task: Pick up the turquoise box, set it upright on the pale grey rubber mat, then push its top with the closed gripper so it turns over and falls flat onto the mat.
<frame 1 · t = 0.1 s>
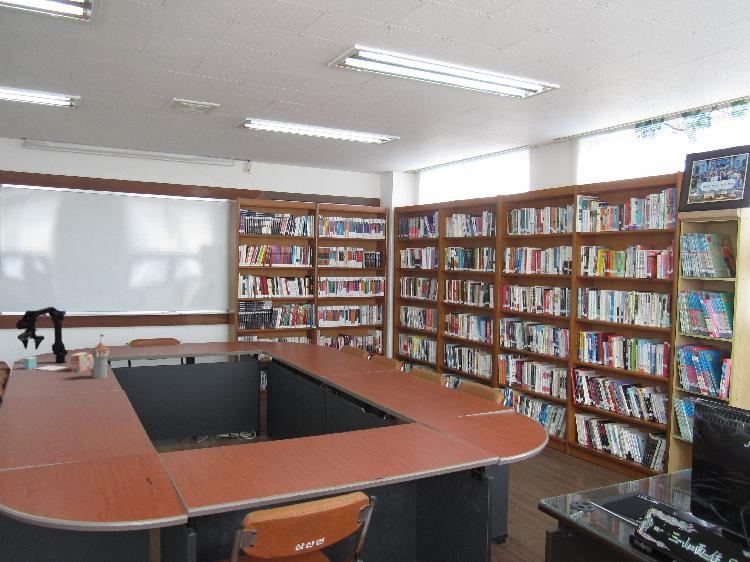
hand: (31, 349, 433), 14 cm above the table, fingers open, 9 cm apart
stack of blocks: (82, 369, 437), on the table
model building: (99, 377, 410), on the table
turquoise box: (30, 368, 435), on the table
mat: (50, 368, 437), on the table
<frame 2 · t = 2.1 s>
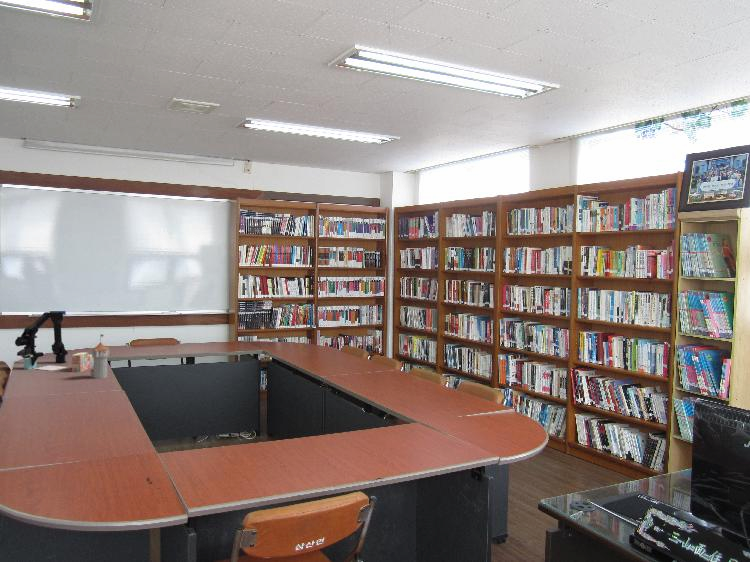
hand: (30, 365, 435), 2 cm above the table, fingers closed on turquoise box, 4 cm apart
turquoise box: (30, 368, 435), on the table, touching gripper
everything else where it was.
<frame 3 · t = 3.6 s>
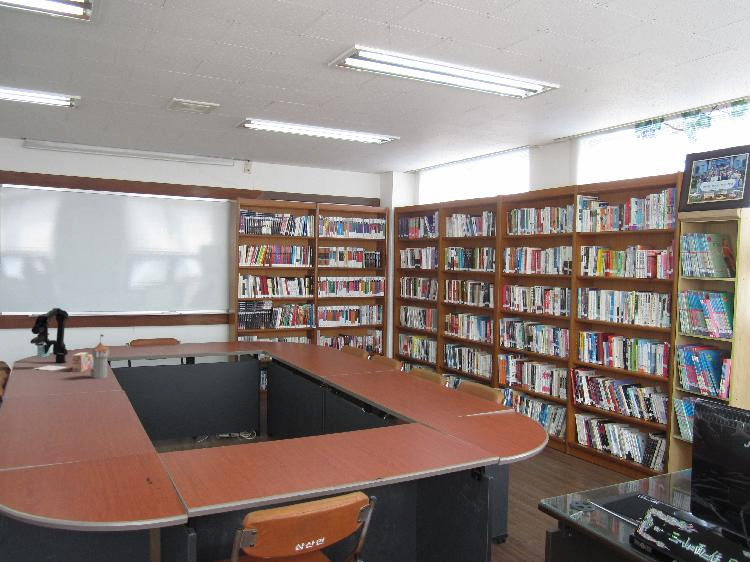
hand: (43, 353, 437), 11 cm above the table, fingers closed on turquoise box, 4 cm apart
turquoise box: (43, 356, 437), point 9 cm above the table, touching gripper
everything else where it was.
when the fingers open (4 cm above the table, at t = 5.3 s): turquoise box drops 1 cm, resting on mat.
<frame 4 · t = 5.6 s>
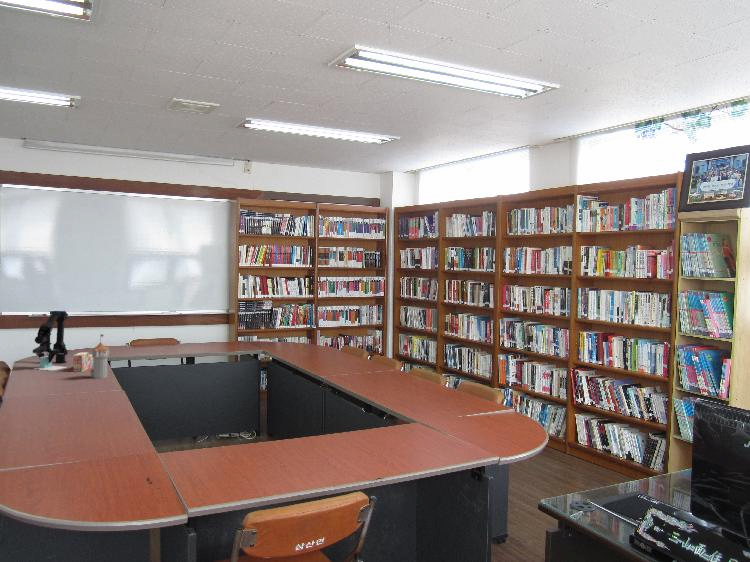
hand: (45, 363, 438), 4 cm above the table, fingers open, 7 cm apart
turquoise box: (45, 367, 438), point 1 cm above the table, touching mat
everything else where it was.
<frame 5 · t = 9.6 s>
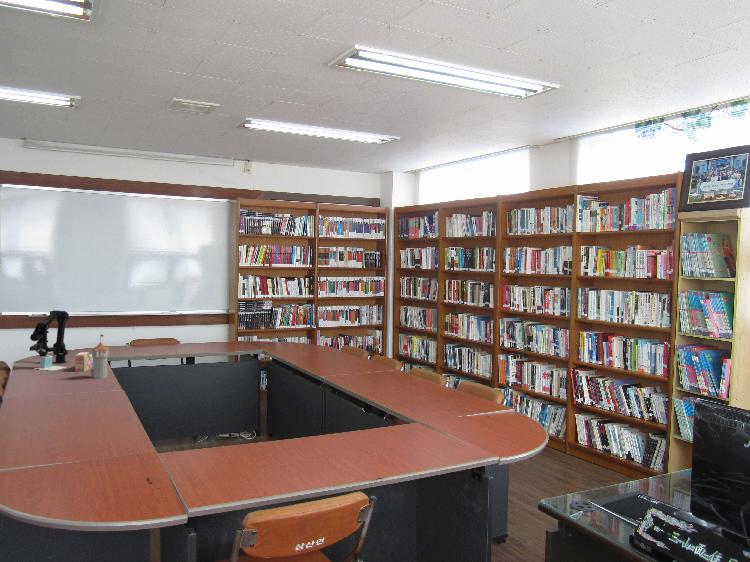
hand: (42, 360, 438), 5 cm above the table, fingers closed
turquoise box: (45, 367, 438), point 1 cm above the table, tilted 7°, touching gripper, mat
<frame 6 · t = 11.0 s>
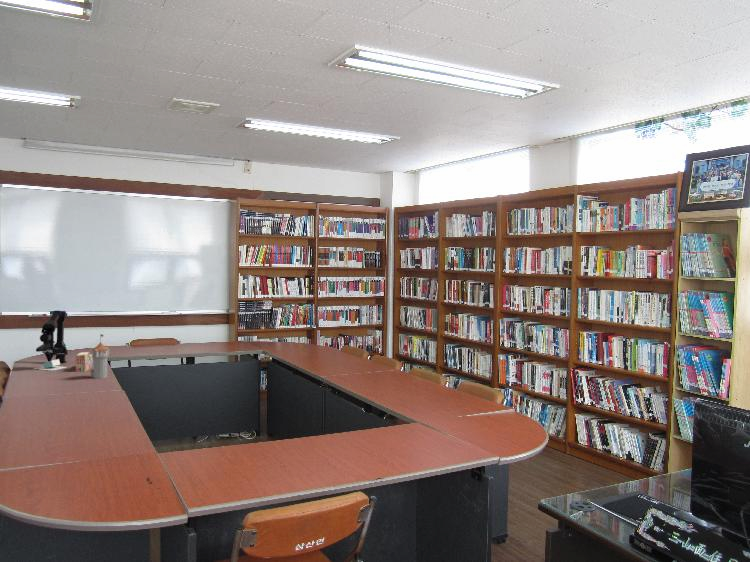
hand: (49, 361, 437), 5 cm above the table, fingers closed
turquoise box: (47, 364, 437), point 2 cm above the table, tilted 73°, touching gripper, mat
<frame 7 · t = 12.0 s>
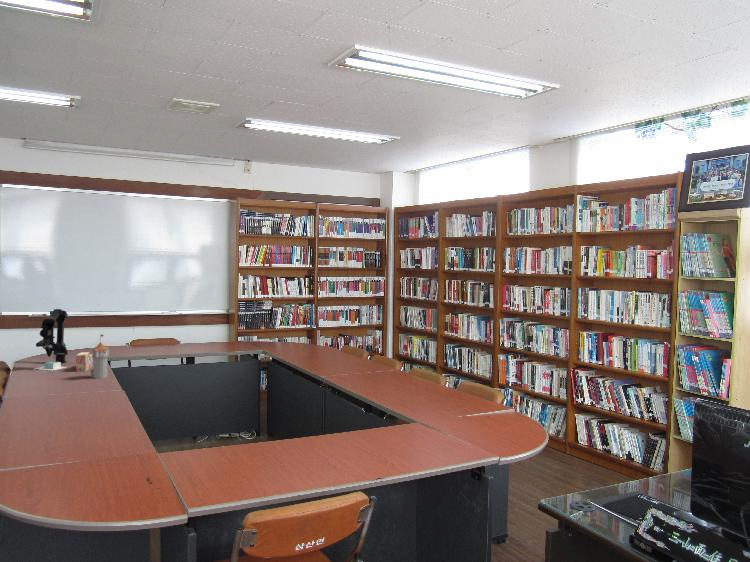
hand: (49, 356, 437), 9 cm above the table, fingers closed
turquoise box: (48, 364, 437), point 2 cm above the table, tilted 90°, touching mat
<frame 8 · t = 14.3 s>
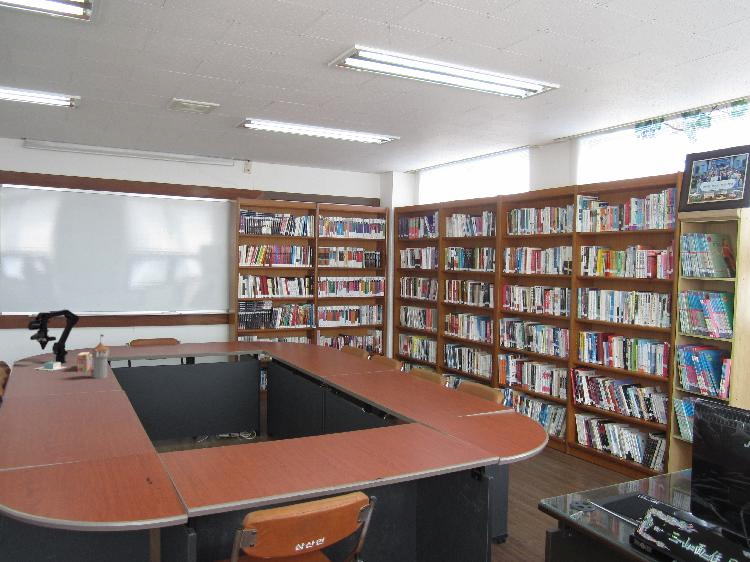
hand: (43, 349, 448), 12 cm above the table, fingers closed
at the end: turquoise box tilted 90°; turquoise box inside the target area (3.0 cm from its centre), point 2.5 cm above the table; the gripper is holding nothing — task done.
